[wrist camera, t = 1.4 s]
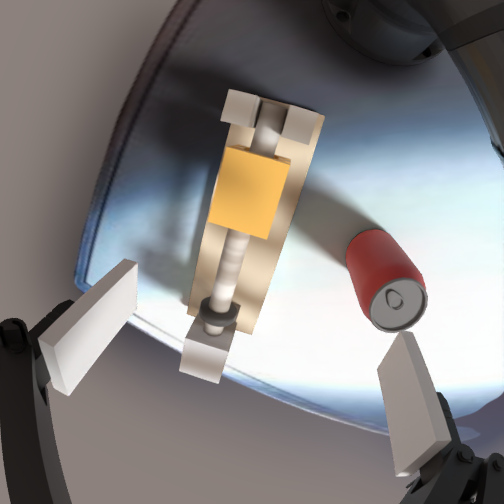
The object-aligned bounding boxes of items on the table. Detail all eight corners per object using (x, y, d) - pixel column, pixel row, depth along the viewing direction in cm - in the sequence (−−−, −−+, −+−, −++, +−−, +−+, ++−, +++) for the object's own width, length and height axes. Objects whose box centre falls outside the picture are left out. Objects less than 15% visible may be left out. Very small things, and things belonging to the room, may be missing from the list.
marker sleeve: (238, 143, 26) (226, 146, 21) (291, 159, 26) (290, 165, 21) (221, 206, 28) (207, 221, 24) (271, 221, 28) (267, 239, 24)
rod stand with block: (242, 93, 30) (214, 75, 19) (323, 116, 30) (339, 109, 19) (190, 308, 41) (157, 366, 30) (253, 328, 41) (238, 393, 30)
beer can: (379, 216, 33) (414, 258, 22) (405, 258, 34) (443, 311, 23) (334, 248, 35) (349, 303, 24) (362, 288, 37) (384, 349, 26)
